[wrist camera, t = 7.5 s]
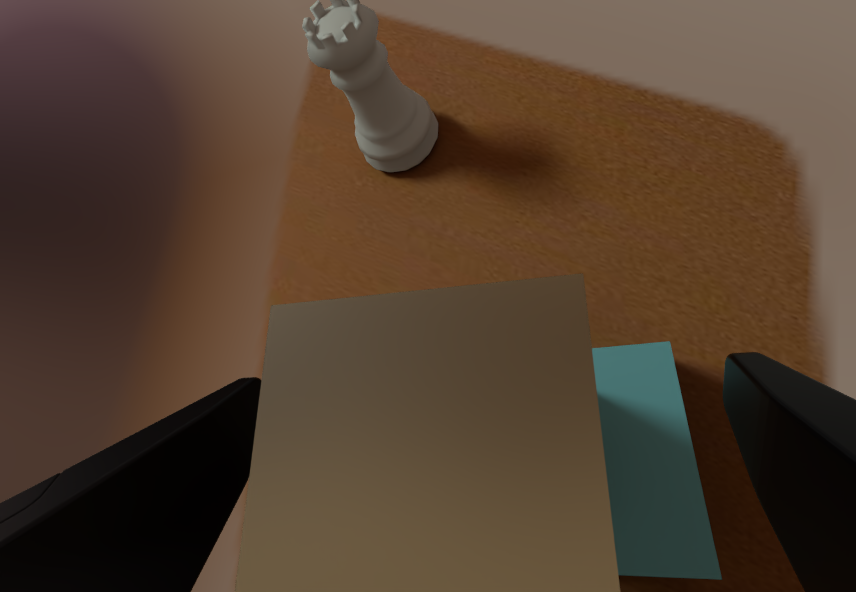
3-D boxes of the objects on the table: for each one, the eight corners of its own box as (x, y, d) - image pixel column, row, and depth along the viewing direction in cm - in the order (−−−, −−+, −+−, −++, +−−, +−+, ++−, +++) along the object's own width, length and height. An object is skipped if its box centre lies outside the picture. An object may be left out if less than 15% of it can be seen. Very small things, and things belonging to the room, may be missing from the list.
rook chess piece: (377, 109, 26) (301, -22, 19) (449, 108, 24) (395, -36, 17) (356, 175, 25) (266, 64, 18) (430, 179, 23) (364, 58, 16)
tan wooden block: (593, 532, 14) (637, 740, 4) (453, 524, 15) (225, 665, 5) (578, 385, 15) (582, 272, 6) (451, 389, 17) (271, 305, 7)
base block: (700, 559, 15) (721, 579, 13) (396, 549, 18) (370, 564, 16) (657, 355, 17) (669, 341, 15) (395, 377, 20) (373, 368, 18)
